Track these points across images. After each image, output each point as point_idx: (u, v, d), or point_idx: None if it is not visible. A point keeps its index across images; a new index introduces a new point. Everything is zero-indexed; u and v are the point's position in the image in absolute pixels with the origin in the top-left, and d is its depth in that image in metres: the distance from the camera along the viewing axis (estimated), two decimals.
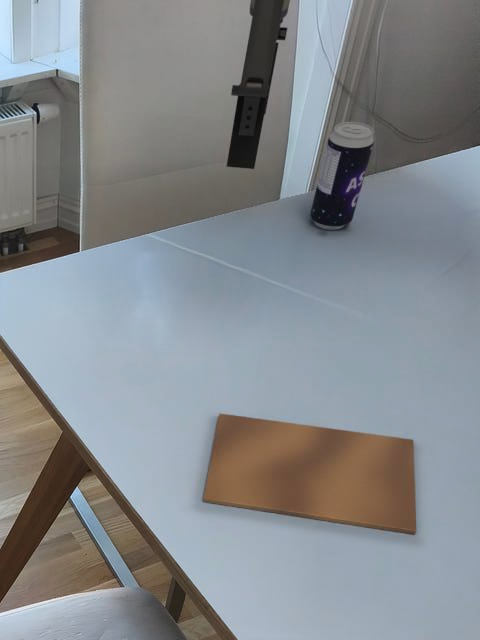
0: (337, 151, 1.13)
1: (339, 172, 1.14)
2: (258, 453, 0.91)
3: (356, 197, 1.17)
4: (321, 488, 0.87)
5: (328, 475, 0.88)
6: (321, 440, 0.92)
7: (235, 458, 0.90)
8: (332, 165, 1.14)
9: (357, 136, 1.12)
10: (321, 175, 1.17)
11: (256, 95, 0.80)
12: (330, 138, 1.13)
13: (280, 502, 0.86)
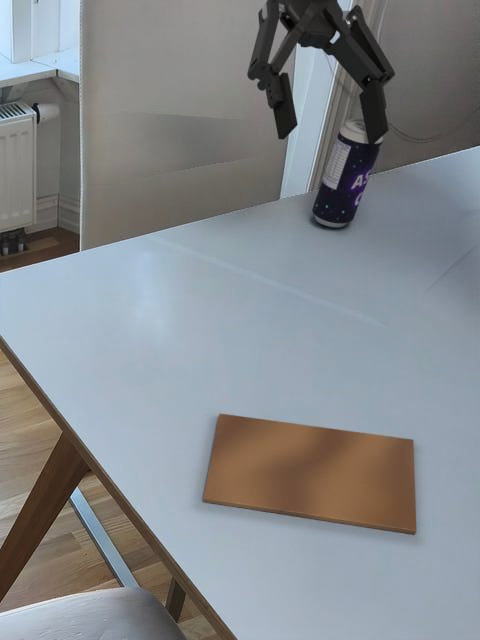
0: (348, 145, 1.13)
1: (347, 167, 1.14)
2: (258, 453, 0.91)
3: (360, 195, 1.17)
4: (321, 488, 0.87)
5: (328, 475, 0.88)
6: (321, 440, 0.92)
7: (235, 458, 0.90)
8: (341, 159, 1.14)
9: None
10: (328, 169, 1.16)
11: (256, 69, 1.04)
12: (341, 132, 1.13)
13: (280, 502, 0.86)
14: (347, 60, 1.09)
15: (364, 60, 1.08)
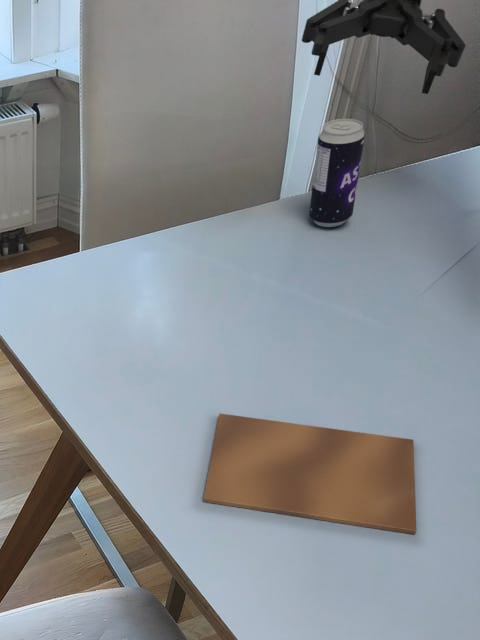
0: (327, 149, 1.13)
1: (331, 168, 1.14)
2: (258, 453, 0.91)
3: (352, 192, 1.17)
4: (321, 488, 0.87)
5: (328, 475, 0.88)
6: (321, 440, 0.92)
7: (235, 458, 0.90)
8: (324, 163, 1.15)
9: (346, 132, 1.12)
10: (315, 174, 1.17)
11: (305, 28, 1.16)
12: (319, 137, 1.14)
13: (280, 502, 0.86)
14: (418, 41, 1.15)
15: (431, 34, 1.14)
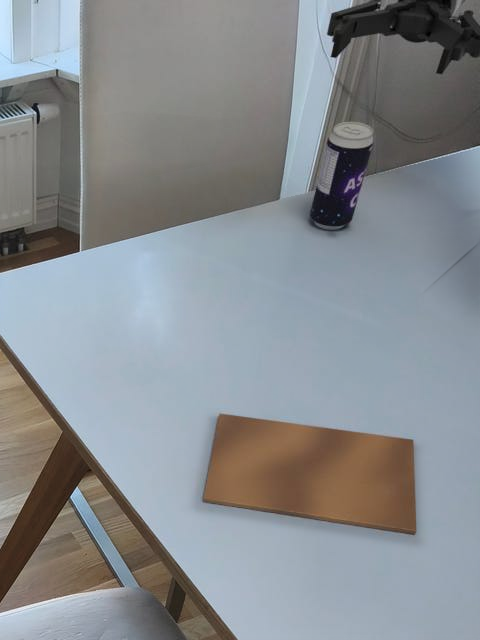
0: (336, 151, 1.13)
1: (337, 172, 1.14)
2: (258, 453, 0.91)
3: (355, 198, 1.17)
4: (321, 488, 0.87)
5: (328, 475, 0.88)
6: (321, 440, 0.92)
7: (235, 458, 0.90)
8: (330, 165, 1.14)
9: (355, 136, 1.12)
10: (320, 175, 1.17)
11: (330, 21, 1.20)
12: (329, 138, 1.14)
13: (280, 502, 0.86)
14: (442, 35, 1.17)
15: (453, 27, 1.15)
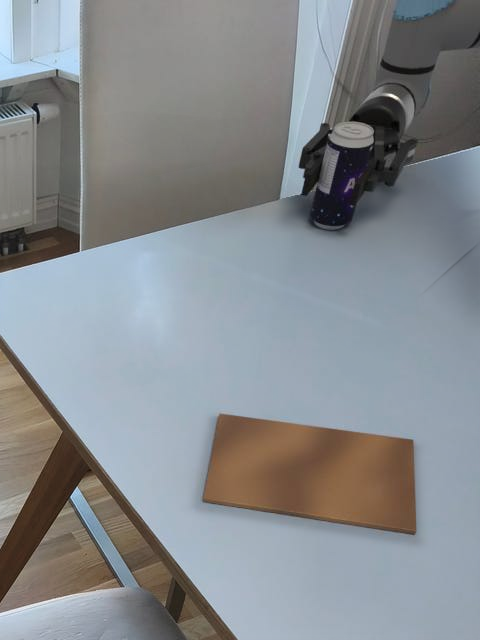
0: (336, 151, 1.13)
1: (338, 171, 1.14)
2: (258, 453, 0.91)
3: None
4: (321, 488, 0.87)
5: (328, 475, 0.88)
6: (321, 440, 0.92)
7: (235, 458, 0.90)
8: (331, 164, 1.14)
9: (356, 136, 1.12)
10: (320, 174, 1.17)
11: (302, 156, 1.20)
12: (330, 137, 1.14)
13: (280, 502, 0.86)
14: (371, 161, 1.19)
15: (376, 155, 1.17)
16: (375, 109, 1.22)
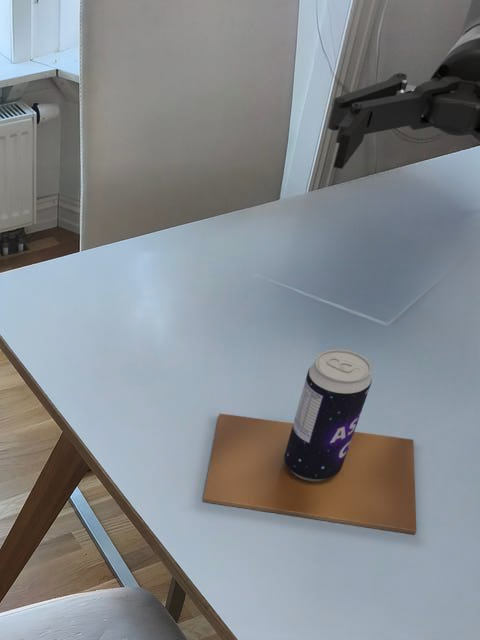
0: (319, 394, 0.80)
1: (321, 419, 0.81)
2: (258, 453, 0.91)
3: (346, 447, 0.84)
4: (321, 488, 0.87)
5: None
6: None
7: (235, 458, 0.90)
8: (311, 409, 0.82)
9: (346, 377, 0.79)
10: (297, 415, 0.84)
11: (332, 110, 0.81)
12: (310, 373, 0.81)
13: (280, 502, 0.86)
14: None
15: None
16: (474, 56, 0.81)
